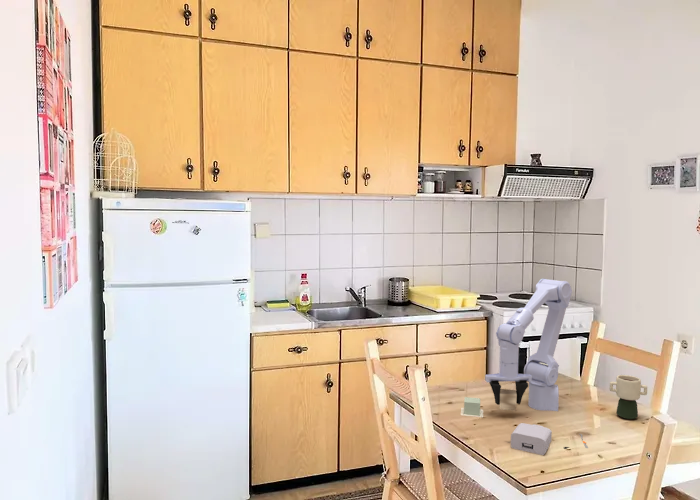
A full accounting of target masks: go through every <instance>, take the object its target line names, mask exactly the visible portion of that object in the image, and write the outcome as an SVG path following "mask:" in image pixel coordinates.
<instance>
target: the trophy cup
mask: <svg viewBox="0 0 700 500" xmlns="http://www.w3.org/2000/svg"><path fill="white" fill-rule="evenodd" d="M614 386H615V388H614ZM641 389H643V391H641ZM609 391H610V392H613V393H615V395H616V396H617V397H618V398H619V399H618V402H617V407H616V415H617V416H619V417H621V418H623V419H628V420H629V419H630V420H633V419H637V418H638V416H639V409H638V402H637V401H638V400H640V398H641V396H647V394H648V385H646V384H642V379H641V378H640V377H637V376H633V375H629V374H621V375H619V374H618V375H616V380H615V381H610V382H609Z"/></svg>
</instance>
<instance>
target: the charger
mask: <svg viewBox="0 0 700 500" xmlns="http://www.w3.org/2000/svg"><path fill="white" fill-rule="evenodd" d="M552 435H553V433H552V430H551V429H550V428H548V427H544V426H543V425H538V424H534V423H533V424H530V423H525V422H522V423H519V424H518V425H517V426H516V428H515V429H514V430H513V432H511V434H510V447H511V449H514V450H518V451H522V452H528V453H532V454H536V455H541V456H544V455H546V452H547V451H548V449H549V447H550V444H551V442H552Z"/></svg>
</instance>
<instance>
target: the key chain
mask: <svg viewBox="0 0 700 500" xmlns="http://www.w3.org/2000/svg"><path fill="white" fill-rule="evenodd" d="M579 435H580V439H581V441H582V443H583V445H584V447H585V449H589V447H588V445H587V442H586V441H584V440H583V439H584V438H583V434H582V433H579ZM569 448H570V447H569V446H563V449H564V450H567V449H569Z"/></svg>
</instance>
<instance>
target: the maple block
mask: <svg viewBox="0 0 700 500" xmlns="http://www.w3.org/2000/svg"><path fill="white" fill-rule="evenodd" d="M516 402H517V394H516V389H507V388H505V389H504V388H501V390H500V404H499V405H498V406H499V410H504V411H506V410H507V411H515V412H516V411H517V403H516Z"/></svg>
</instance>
